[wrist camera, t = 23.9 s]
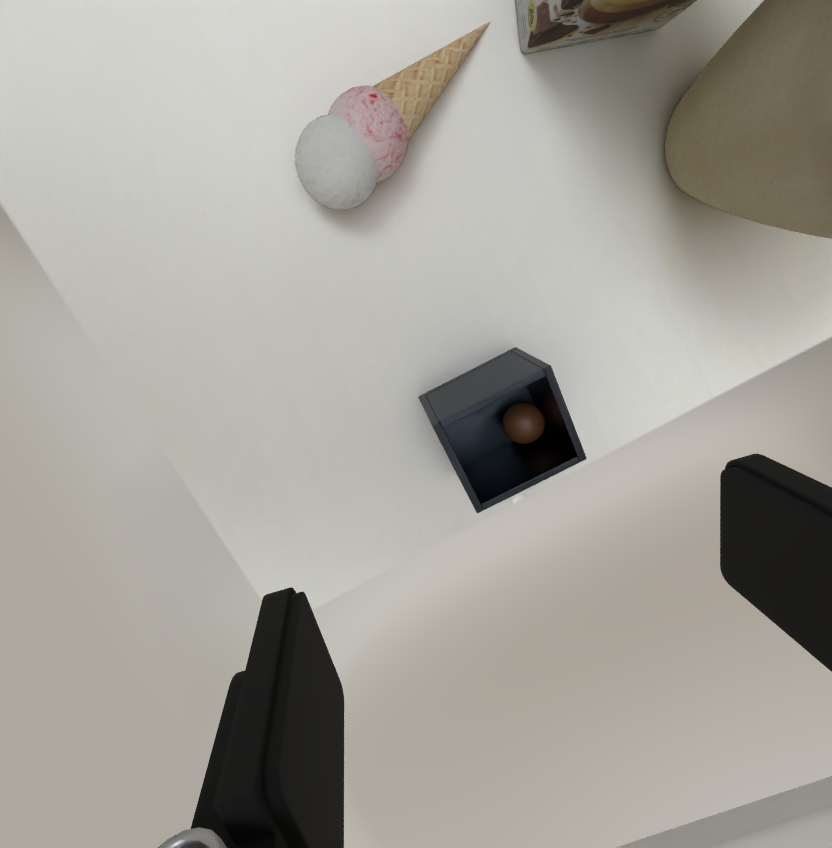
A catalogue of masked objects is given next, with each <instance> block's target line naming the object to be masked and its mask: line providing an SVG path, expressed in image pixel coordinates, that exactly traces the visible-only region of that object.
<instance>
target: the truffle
mask: <svg viewBox="0 0 832 848" xmlns="http://www.w3.org/2000/svg"><path fill="white" fill-rule="evenodd" d="M544 427H545V419H544V416H543V414H542V412H541V411H540V409H539V408H537V407H536V406H535V405H533V404H530V403H518V404H515V405H513V406H511V407H510V408H509V409H508V410H507V411H506V413H505V415H504V417H503V429H504V432H505V434H506V435H507V436H508V437H509V438H510V439H511V440H512V441H514V442H517V443H520V444H527V443H531V442H533V441H535V440H537V439H538V438H539V437H540V436H541V434H542V433H543V431H544Z"/></svg>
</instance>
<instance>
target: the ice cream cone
mask: <svg viewBox="0 0 832 848" xmlns="http://www.w3.org/2000/svg"><path fill="white" fill-rule="evenodd" d="M489 23H490V22H489ZM489 23H487V24H485V25H483V26H481V27H480V28H478V29H476V30H474V31H472V32H470V33H469V34H467V35H465V36H463V37H461V38H460V39H458V40H456V41H454V42H452V43H451V44H449V45H447V46H445V47H443V48H442V49H440V50H438V51H436V52H434V53H432V54H431V55H429V56H427V57H425V58H423V59H422V60H420V61H418V62H416V63H414V64H413V65H411V66H409V67H407V68H405V69H403V70H402V71H400V72H398V73H396V74H394V75H393V76H391V77H389V78H387V79H385V80H384V81H382V82H380V83H378V84H376V85H374V86H373V87H371V86H360V87H353V88H351V89H349V90H347V91H346V92H344V93H343V94H341V95H340V96H339V97H338V98H337V99H336V101H335V102H334V103H333V105H332V106H331V108H330V110H329V113H328V115H324V116H320V117H319V118H317V119H315V120H314V121H312V122H310V123H309V124H308V125H307V127H306V128H305V129H304V131H303V132H302V133H301V135H300V137H299V140H298V143H297V146H296V153H295V165H296V169H297V174H298V178H299V180H300V181H301V183H302V185H303V187H304V189H305V190H306V192H307V193H308V194H309V195H310V196H311V197H312V198H313V199H314V200H315V201H317V202H318V203H320V204H322V205H324V206H326V207H328V208H333V209H339V210H344V209H349V208H353V207H356V206H358V205H359V204H361V203H362V202H364V201H365V200H366V199H367V198H368V197H369V196H370V194H371V193H372V192H373V190H374V188H375V186H376V183H377V182H380V181H383V180H385V179H386V178H388V177H389V176H391V175H392V174H394V173H395V172H396V170H397V169H398V168H399V166H400V165H401V164H402V162H403V159H404V157H405V154H406V152H407V146H408V141H409V139H410V138H411V136H412V135H413V133H414V132H415V130H416V129H417V127H418V126H419V125H420V123H421V122H422V120H423V119H424V117H425V116H426V114H427V113H428V111H429V110H430V109H431V107H432V106H433V104H434V103H435V101H436V100H437V98H438V97H439V95H440V94H441V93H442V91H443V90H444V88H445V87H446V85H447V84H448V82H449V81H450V79H451V78H452V77H453V75H454V74H455V72H456V71H457V69H458V68H459V66H460V65H461V63H462V62H463V61H464V59H465V58H466V56H467V55H468V53H469V52H470V50H471V49H472V47H473V46H474V45H475V43H476V42H477V40H478V39H479V37H480V36H481V34H482V33H483V31H484V30H485V29H486V27H487V26H488V24H489Z"/></svg>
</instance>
